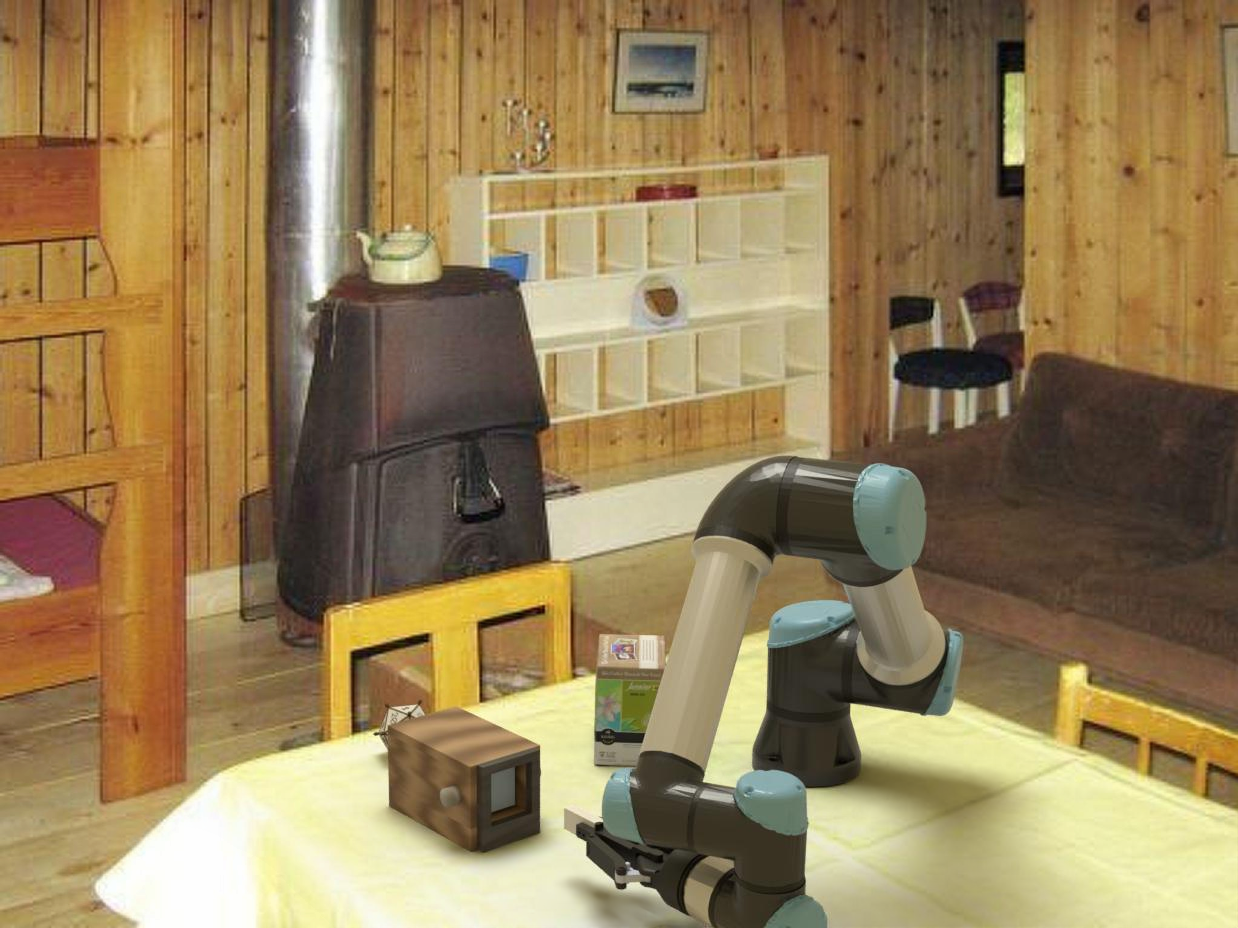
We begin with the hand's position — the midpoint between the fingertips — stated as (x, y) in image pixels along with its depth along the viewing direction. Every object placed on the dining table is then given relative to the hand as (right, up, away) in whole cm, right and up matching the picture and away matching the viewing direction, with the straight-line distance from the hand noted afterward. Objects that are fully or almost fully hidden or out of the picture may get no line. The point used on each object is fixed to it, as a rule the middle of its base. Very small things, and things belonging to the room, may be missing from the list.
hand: (568, 816), depth 212 cm
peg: (-14, 0, +16) cm, 22 cm away
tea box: (+7, +2, +41) cm, 42 cm away
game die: (-24, +1, +37) cm, 44 cm away
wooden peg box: (-14, -3, +17) cm, 23 cm away
